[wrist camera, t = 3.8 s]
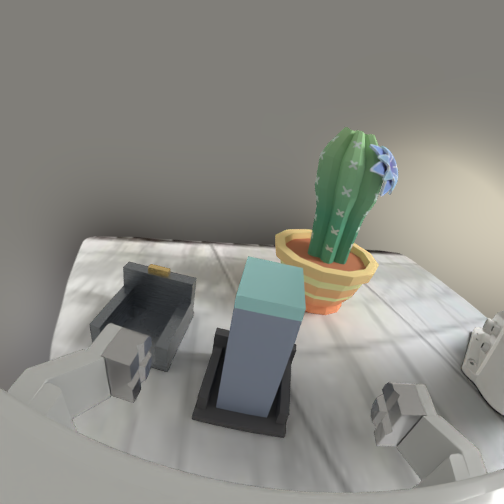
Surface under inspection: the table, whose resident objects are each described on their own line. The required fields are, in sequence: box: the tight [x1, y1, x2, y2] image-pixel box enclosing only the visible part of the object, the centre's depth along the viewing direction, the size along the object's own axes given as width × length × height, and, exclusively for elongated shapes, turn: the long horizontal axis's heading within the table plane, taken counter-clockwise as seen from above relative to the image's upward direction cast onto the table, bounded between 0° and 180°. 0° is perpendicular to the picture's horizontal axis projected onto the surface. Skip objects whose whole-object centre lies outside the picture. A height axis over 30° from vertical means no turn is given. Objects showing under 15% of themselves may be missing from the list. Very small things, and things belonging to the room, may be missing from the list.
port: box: [90, 262, 196, 372], centre depth 31 cm, size 10×8×6 cm
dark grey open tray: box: [192, 328, 296, 437], centre depth 27 cm, size 9×8×4 cm
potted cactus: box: [275, 127, 398, 315], centre depth 41 cm, size 15×15×25 cm
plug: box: [216, 256, 306, 418], centre depth 25 cm, size 6×4×12 cm
